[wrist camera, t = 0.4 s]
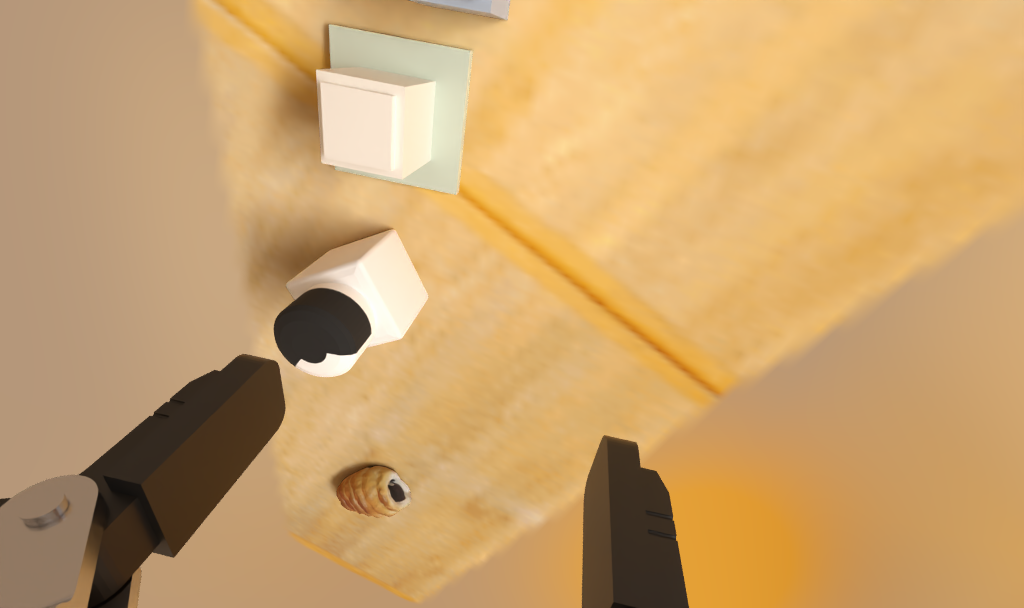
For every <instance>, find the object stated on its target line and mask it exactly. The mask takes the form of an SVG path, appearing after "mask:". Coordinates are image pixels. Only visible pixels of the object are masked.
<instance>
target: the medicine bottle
mask: <svg viewBox="0 0 1024 608" xmlns="http://www.w3.org/2000/svg"><path fill="white" fill-rule="evenodd" d="M286 288H287V289H288V291H289V292H290V294H291V295H292V297H293V298H294V300H295V301H294V302H292V303H291V304H290V305H289V306H288V307H286V308H285V309H284V310H283V311H282V312H281V313H280V314H279V315H278V316H277V318H276V320H275V323H274V336H275V340H276V343H277V346H278V348H279V350H280V351H281V353H282V354H283V356H284V357H285V358H286V359H287V360H288V361H289V362H290V363H291V364H292V365H294V366H295V367H297V368H298V369H300V370H302V371H303V372H306V373H308V374H311V375H314V376H319V377H334V376H339V375H342V374H344V373H346V372H347V371H348V370H350V369H351V367H352V366H353V365H354V363H355V362H356V361H357V359H358V358H359V357H360V356H361V354H362V353H363V352H364V350H365V349H366V348H367V347H371V346H375V345H379V344H383V343H387V342H391V341H395V340H399V339H401V338H402V337H403V336H404V334H405V333H406V331H407V330H408V328H409V327H410V325H411V324H412V322H413V321H414V319H415V318H416V316H417V315H418V313H419V312H420V310H421V309H422V307H423V305H424V304H425V302H426V301H427V299H428V294H427V292H426V290H425V288H424V286H423V284H422V282H421V280H420V278H419V276H418V274H417V272H416V270H415V268H414V266H413V264H412V262H411V260H410V258H409V256H408V254H407V252H406V250H405V248H404V246H403V244H402V242H401V240H400V238H399V236H398V234H397V232H396V231H395V230H394V229H391V230H388V231H385V232H382V233H379V234H376V235H373V236H370V237H367V238H364V239H361V240H358V241H355V242H352V243H349V244H346V245H343V246H340V247H337V248H334V249H331V250H329V251H328V252H327V253H325V254H324V255H323V256H321V257H320V258H319V259H317V260H316V261H315V262H313V263H312V264H311V265H309V266H308V267H307V268H306V269H304V270H303V271H302V272H300V273H299V274H298V275H296V276H295V277H294V278H292V279H291V280H290V281H288V282H287V283H286Z"/></svg>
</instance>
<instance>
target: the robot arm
mask: <svg viewBox="0 0 1024 608" xmlns="http://www.w3.org/2000/svg"><path fill="white" fill-rule="evenodd" d="M284 414H285V400H284V394H283V388H282V381H281V375H280V369H279V365H278V363H277V362H276V361H274V360H270V359H265V358H261V357H256V356H252V355H247V354H242V355H239V356H238V357H236V358H235V359H234V360H233V361H232V362H230V363H229V364H228V365H227V366H226V367H225V368H224V369H222V370H221V371H217V370H214V371H212V372H210V373H207V374H206V375H203V376H201V377H199V378H197V379H195V380H193V381H191V382H189V383H188V384H187V385H186V386H185V387H183V388H182V389H181V390H180V391H179V392H178V393H176V394H175V395H174V396H173V397H172V398H170V401H169V402H166V403H164V404H163V405H162V406H161V407H160V408H159V409H157V410H156V411H155V412H154V415H153V416H149V417H148V418H147V419H145V420H144V421H143V422H142V423H141V424H139V425H138V426H137V427H136V428H135V429H134V430H132V431H131V432H130V433H129V434H128V435H126V436H125V437H124V438H123V439H122V440H120V441H119V442H118V443H117V444H116V445H115V446H113V447H112V448H111V449H110V450H109V451H107V452H106V453H105V454H104V455H103V456H101V457H100V458H99V459H98V460H97V461H96V462H94V463H93V464H92V465H91V466H90V467H88V468H87V469H86V470H85V471H84V472H82V473H81V474H79V475H67V476H60V477H55V478H52V479H48V480H45V481H43V482H40V483H37V484H35V485H33V486H31V487H29V488H27V489H25V490H24V491H22V492H20V493H18V494H17V495H15V496H14V497H12V498H6V499H0V608H137V606H138V597H139V590H140V583H141V567H140V566H141V564H142V563H143V562H144V561H145V560H146V559H147V558H148V556H149V555H150V554H151V553H152V552H153V553H157V554H162V555H165V556H170V557H175V556H176V555H177V553H178V552H179V551H180V550H181V548H182V547H183V546H184V545H185V543H186V542H187V541H188V540H189V539H190V537H191V536H192V535H193V534H194V532H195V531H196V530H197V529H198V527H199V526H200V525H201V524H202V523H203V521H204V520H205V519H206V518H207V516H208V515H209V514H210V513H211V511H212V510H213V509H214V508H215V507H216V505H217V504H218V503H219V502H220V500H221V499H222V498H223V497H224V495H225V494H226V493H227V492H228V490H229V489H230V488H231V487H232V486H233V484H234V483H235V482H236V481H237V479H238V478H239V477H240V476H241V475H242V473H243V472H244V471H245V470H246V468H247V467H248V466H249V465H250V463H251V462H252V461H253V460H254V459H255V457H256V456H257V455H258V453H259V452H260V451H261V450H262V449H263V447H264V446H265V445H266V444H267V443H268V441H269V440H270V439H271V438H272V436H273V435H274V434H275V433H276V431H277V430H278V429H279V427H280V425H281V423H282V421H283V418H284ZM582 579H583V580H582V608H689V606H688V600H687V594H686V588H685V582H684V576H683V571H682V565H681V559H680V554H679V548H678V542H677V541H676V530H675V524H674V521H673V513H672V507H671V502H670V496H669V492H668V491H667V489H666V487H665V485H664V483H663V482H662V480H661V478H660V476H659V475H658V473H657V472H656V471H654V470H649V469H645V468H641V467H640V458H639V450H638V445H637V443H636V442H632V441H628V440H623V439H619V438H614V437H610V436H605V435H604V436H603V438H602V440H601V442H600V445H599V448H598V451H597V453H596V456H595V459H594V461H593V464H592V467H591V470H590V472H589V475H588V478H587V482H586V487H585V494H584V515H583V576H582Z"/></svg>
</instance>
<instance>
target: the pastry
mask: <svg viewBox="0 0 1024 608" xmlns="http://www.w3.org/2000/svg"><path fill="white" fill-rule="evenodd" d="M337 497H338V499H339V501H341V505H342V506H343V507H345V508H346V509H347V510H350V511H356V512H358V513H359V514H365V515H367V516H374V517H376V518H380V517H382V516H383V515H385V516H388V517H391V516H393V515H395V514H396V513H397V512H399V511H400V510H402V509H404V508H405V507H406V506H408V505H410V503H411V500H412V498H411V492H410V489H409V487H408V485H407V484H406V483H405V482H404V481H403V480H401V479H400V478H399V476H398V475H397V473H396V472H395V471H393V470H391V469H389V468H387V467H384V466H374V467H371V468H368V467H366V468H364V469H362V470H359V471H357V472H356V473H354V474H352V475H350V476H348V477H347V478H345V479H344V480H343V481H342V483H341V484H340V485H339V486H338V489H337Z"/></svg>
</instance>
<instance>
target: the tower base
mask: <svg viewBox="0 0 1024 608" xmlns="http://www.w3.org/2000/svg"><path fill="white" fill-rule="evenodd" d="M329 41H330V64H331V69H317V70H316V79H317V96H318V113H319V130H320V148H321V163H324V164H329V165H334V166H335V170H338V171H343V172H348V173H353V174H358V175H363V176H368V177H372V178H377V179H382V180H387V181H392V182H397V183H402V184H406V185H411V186H416V187H421V188H426V189H431V190H436V191H440V192H445V193H450V194H455V195H456V194H457V193H458V192H459V184H460V174H461V164H462V154H463V144H464V134H465V125H466V115H467V105H468V95H469V85H470V75H471V65H472V55H473V51H471V50H465V49H460V48H455V47H450V46H444V45H439V44H434V43H428V42H423V41H418V40H413V39H407V38H402V37H397V36H391V35H386V34H381V33H375V32H370V31H365V30H360V29H354V28H349V27H344V26H338V25H332V24H329Z"/></svg>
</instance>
